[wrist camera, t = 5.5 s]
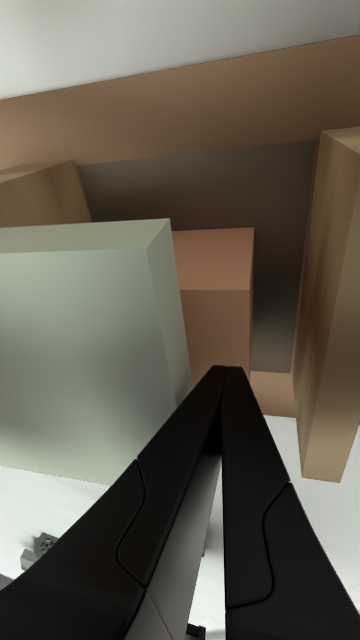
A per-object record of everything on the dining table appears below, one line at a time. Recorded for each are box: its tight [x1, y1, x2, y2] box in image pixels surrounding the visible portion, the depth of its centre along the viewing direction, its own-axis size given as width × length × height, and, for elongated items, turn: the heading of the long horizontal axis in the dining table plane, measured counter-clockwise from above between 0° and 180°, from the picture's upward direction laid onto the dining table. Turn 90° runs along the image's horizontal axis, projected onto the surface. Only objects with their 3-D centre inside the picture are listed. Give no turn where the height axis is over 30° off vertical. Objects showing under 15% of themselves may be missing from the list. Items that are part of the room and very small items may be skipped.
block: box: [172, 227, 254, 388], centre depth 11 cm, size 4×4×4 cm
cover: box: [0, 218, 193, 485], centre depth 9 cm, size 8×11×2 cm
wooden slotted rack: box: [0, 35, 360, 483], centre depth 13 cm, size 15×28×6 cm, turn 97°
